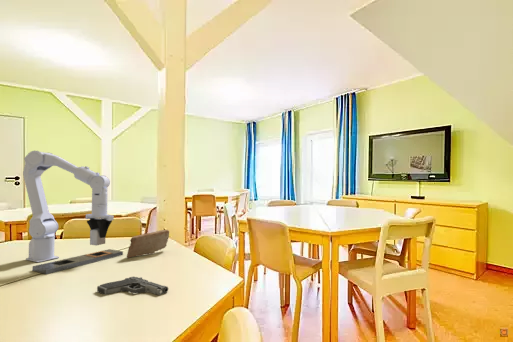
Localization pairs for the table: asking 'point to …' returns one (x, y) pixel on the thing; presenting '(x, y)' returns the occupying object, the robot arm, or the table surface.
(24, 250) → the table surface
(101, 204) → the robot arm
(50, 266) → the rail
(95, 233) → the grey rectangular block
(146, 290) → the handgun
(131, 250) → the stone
